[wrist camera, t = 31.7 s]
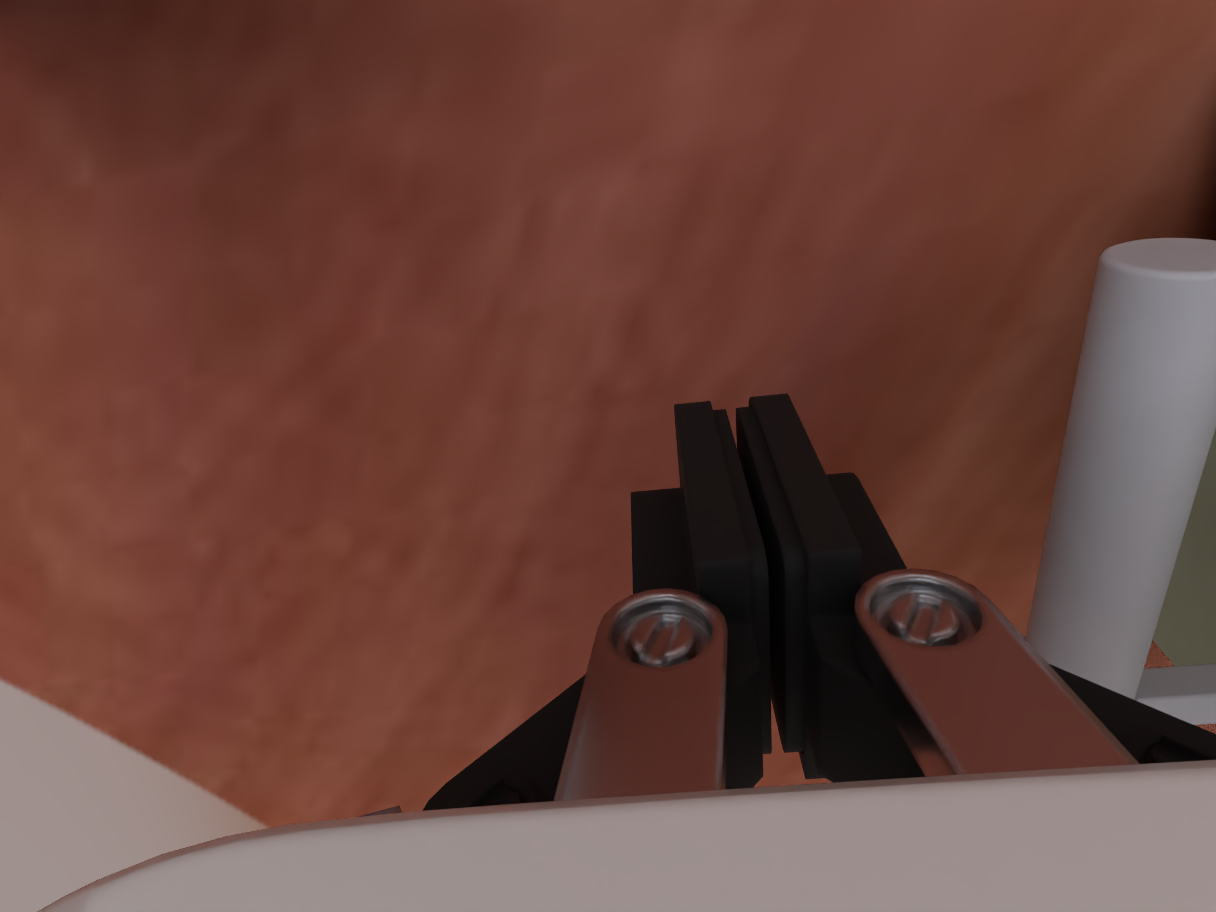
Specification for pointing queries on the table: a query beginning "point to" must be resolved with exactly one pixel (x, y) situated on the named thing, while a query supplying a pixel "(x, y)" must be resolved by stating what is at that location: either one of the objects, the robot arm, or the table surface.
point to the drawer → (1139, 486)
